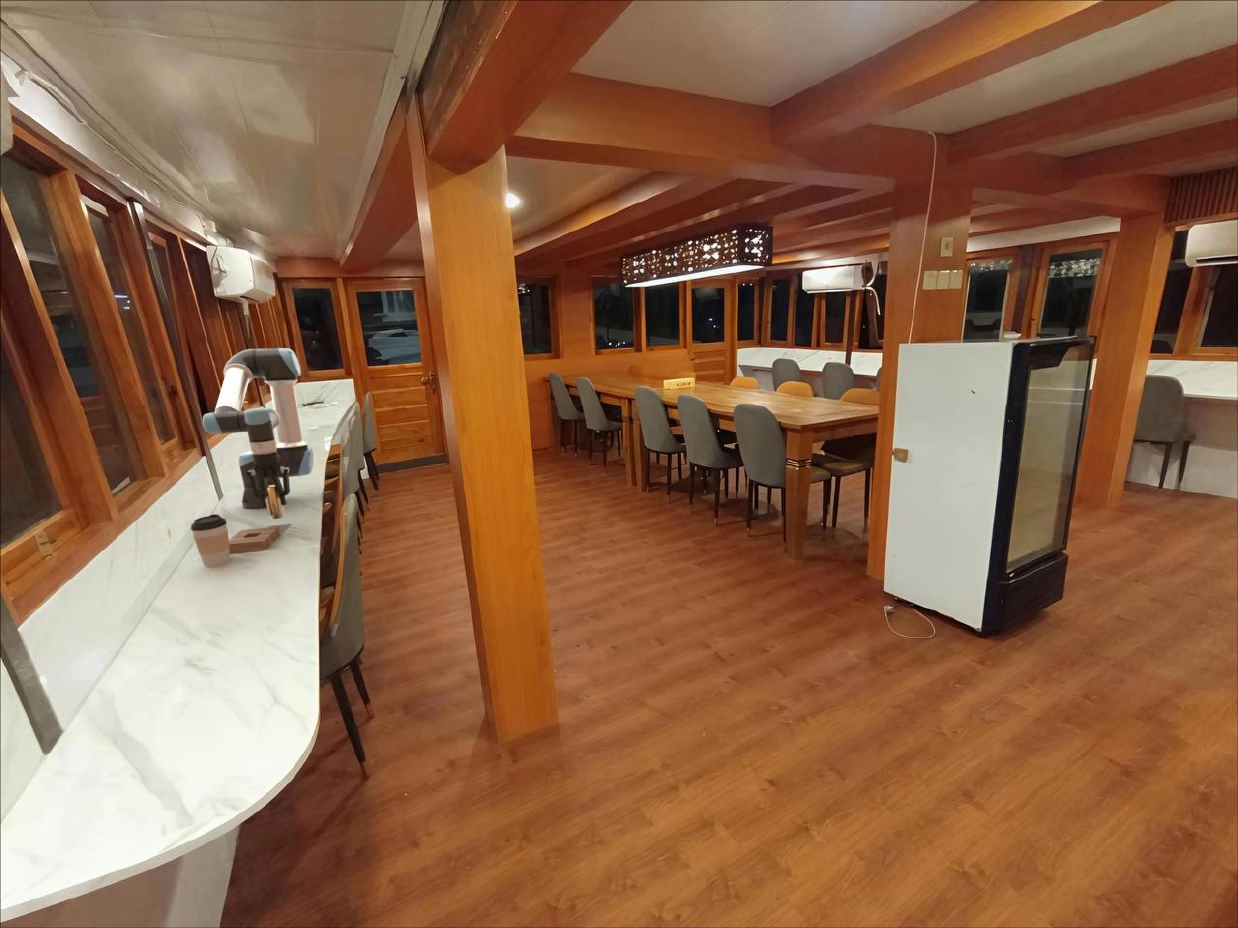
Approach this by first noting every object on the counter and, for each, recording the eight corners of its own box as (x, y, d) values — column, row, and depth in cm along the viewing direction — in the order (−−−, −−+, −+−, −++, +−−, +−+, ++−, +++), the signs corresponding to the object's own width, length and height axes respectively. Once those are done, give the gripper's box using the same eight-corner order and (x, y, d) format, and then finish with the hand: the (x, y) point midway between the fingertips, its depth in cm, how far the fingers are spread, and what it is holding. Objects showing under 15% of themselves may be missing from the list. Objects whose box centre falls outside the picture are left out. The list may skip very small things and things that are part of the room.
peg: (274, 516, 195) (268, 485, 192) (283, 515, 196) (277, 484, 192) (271, 519, 192) (264, 488, 189) (280, 518, 193) (274, 487, 189)
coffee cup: (220, 568, 164) (210, 522, 160) (192, 568, 164) (181, 523, 161) (241, 556, 173) (232, 512, 169) (214, 556, 173) (204, 513, 169)
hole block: (243, 538, 187) (241, 529, 186) (280, 535, 190) (279, 526, 189) (225, 554, 174) (223, 544, 173) (266, 550, 177) (264, 540, 176)
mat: (268, 526, 199) (268, 525, 199) (292, 524, 201) (292, 523, 201) (258, 536, 189) (258, 535, 189) (283, 533, 191) (283, 532, 191)
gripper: (233, 456, 182) (247, 519, 188) (286, 452, 186) (298, 515, 192) (242, 451, 189) (255, 512, 195) (293, 447, 193) (304, 508, 199)
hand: (276, 513), depth 193 cm, fingers closed on peg, 3 cm apart
